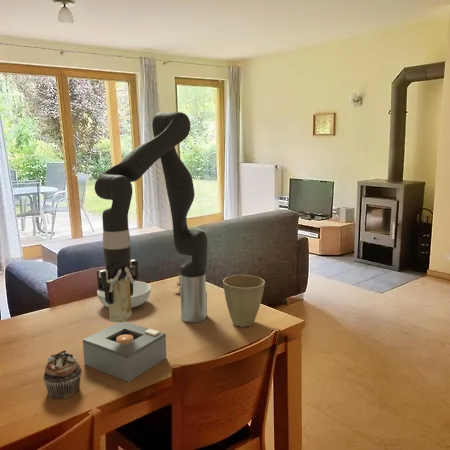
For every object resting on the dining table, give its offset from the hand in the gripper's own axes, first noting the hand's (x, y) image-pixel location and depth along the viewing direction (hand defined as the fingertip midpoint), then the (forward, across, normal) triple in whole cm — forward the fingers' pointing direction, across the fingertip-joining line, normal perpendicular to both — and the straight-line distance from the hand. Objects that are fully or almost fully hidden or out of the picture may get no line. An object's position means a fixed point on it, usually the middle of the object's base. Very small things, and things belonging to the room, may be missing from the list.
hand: (120, 299), depth 131 cm
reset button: (+16, 0, -1) cm, 16 cm away
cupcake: (+20, -20, +2) cm, 28 cm away
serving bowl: (+20, +32, +32) cm, 50 cm away
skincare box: (+6, 0, 0) cm, 6 cm away
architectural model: (+21, +56, +22) cm, 63 cm away
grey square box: (+19, 0, -1) cm, 19 cm away
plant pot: (+20, +43, -16) cm, 50 cm away
